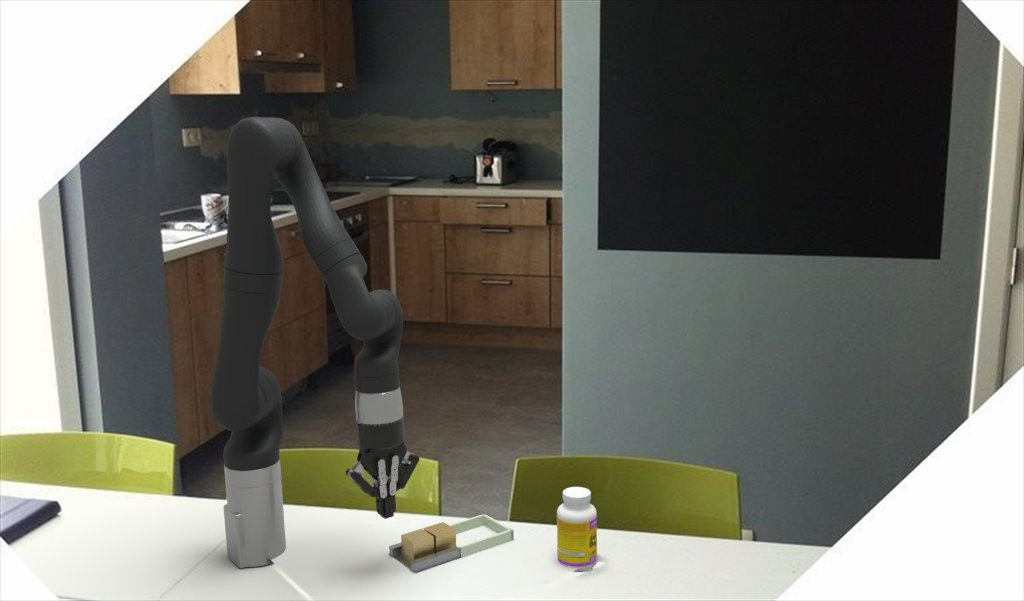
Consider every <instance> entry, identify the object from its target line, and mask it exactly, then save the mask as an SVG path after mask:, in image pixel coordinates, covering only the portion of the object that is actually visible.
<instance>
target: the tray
mask: <svg viewBox="0 0 1024 601" xmlns="http://www.w3.org/2000/svg"><path fill="white" fill-rule="evenodd" d="M448 525H449V526H451V527H452V528H454V529H456V535H458V534H461V533H463V532H466V531H470V530H473V529H476V528H479V527H482V526H485V528H488V529H490V530H492V531H493V532H495V533H496V534H495V533H494V534H492V535H489V536H485V537H483V538H479V539H478V540H474V541H470V542H467V543H465V544H462V545H459V546H458V547H459V548H460V555H461V557H462V558H466V557H469V556H471V555H474V554H477V553H479V552H481V551H486V550H488V549H491V548H494V547H496V546H500V545H503V544H506V543H509V542H511V541H515V539H514V538H515V536H514V531H515V530H514V529H512V528H511V527H508V526H507V525H505V524H503V523H502V522H500V521H499V520H496V519H495V518H493V517H491V516H489V515H487V514H485V513H482V514H480V515H477V516H473V517H470V518H467V519H463V520H461V521H457V522H454V523H450V524H448Z"/></svg>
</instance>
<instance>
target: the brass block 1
mask: <svg viewBox="0 0 1024 601" xmlns="http://www.w3.org/2000/svg"><path fill="white" fill-rule="evenodd" d="M400 538H401V540H400V541H401V542H400V543H402V557H403V558H404V559H406V560H407V561H408V562H410V563H411V561H413V560H416V559H419V558H422V557H425V556H428V555H431V554H434V536H432V535H431V534H429V533H427V532H426V531H424V529H423V528H419V529H416V530H413V531H410V532H407V533H406V532H405V533H403V534H401V535H400Z"/></svg>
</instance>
